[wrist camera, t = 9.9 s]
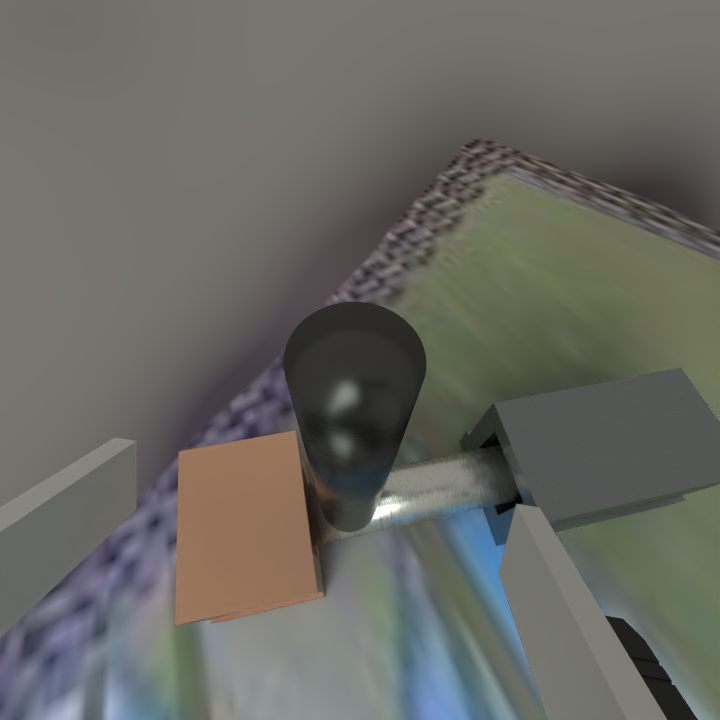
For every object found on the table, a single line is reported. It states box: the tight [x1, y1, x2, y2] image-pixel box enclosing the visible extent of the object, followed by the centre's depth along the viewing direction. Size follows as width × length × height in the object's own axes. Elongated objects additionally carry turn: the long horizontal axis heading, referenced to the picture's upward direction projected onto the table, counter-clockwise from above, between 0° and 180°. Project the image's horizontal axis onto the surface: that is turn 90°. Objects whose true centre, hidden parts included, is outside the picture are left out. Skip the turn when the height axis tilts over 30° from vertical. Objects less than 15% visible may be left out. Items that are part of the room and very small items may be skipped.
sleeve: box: [460, 368, 720, 546], centre depth 24 cm, size 12×7×7 cm, turn 102°
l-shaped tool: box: [284, 302, 522, 546], centre depth 17 cm, size 20×4×18 cm, turn 102°
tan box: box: [175, 430, 325, 626], centre depth 22 cm, size 6×8×7 cm
